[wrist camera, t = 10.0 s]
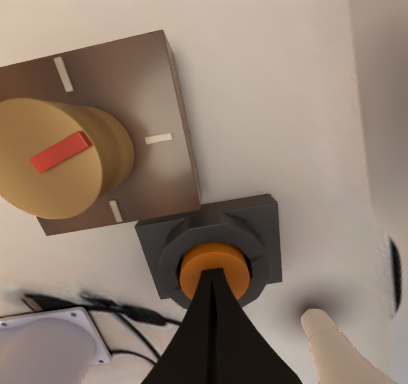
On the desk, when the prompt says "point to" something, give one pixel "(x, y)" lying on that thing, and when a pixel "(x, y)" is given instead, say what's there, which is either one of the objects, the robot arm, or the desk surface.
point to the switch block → (209, 232)
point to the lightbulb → (337, 353)
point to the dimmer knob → (60, 156)
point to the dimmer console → (122, 122)
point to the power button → (214, 266)
